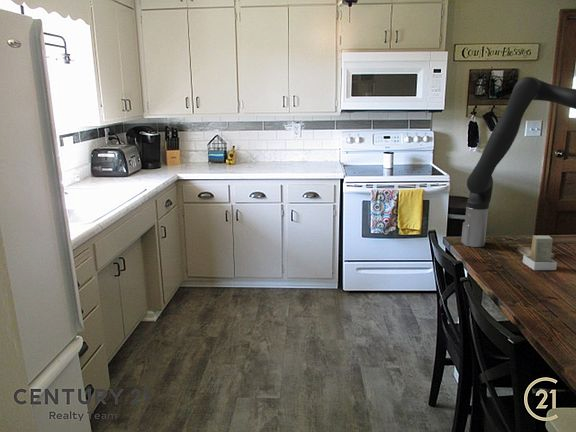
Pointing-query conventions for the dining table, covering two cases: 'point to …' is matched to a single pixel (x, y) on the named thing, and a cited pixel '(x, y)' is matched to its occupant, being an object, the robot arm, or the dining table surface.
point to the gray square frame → (539, 264)
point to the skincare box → (541, 248)
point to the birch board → (528, 251)
